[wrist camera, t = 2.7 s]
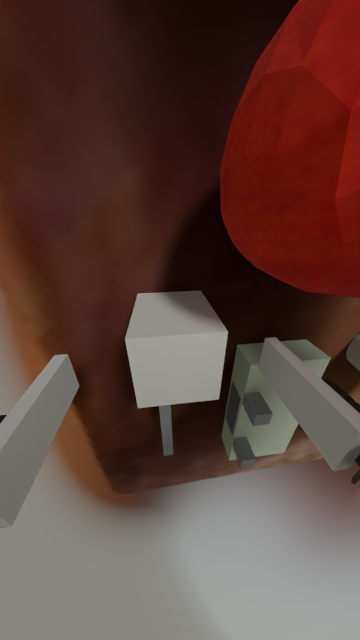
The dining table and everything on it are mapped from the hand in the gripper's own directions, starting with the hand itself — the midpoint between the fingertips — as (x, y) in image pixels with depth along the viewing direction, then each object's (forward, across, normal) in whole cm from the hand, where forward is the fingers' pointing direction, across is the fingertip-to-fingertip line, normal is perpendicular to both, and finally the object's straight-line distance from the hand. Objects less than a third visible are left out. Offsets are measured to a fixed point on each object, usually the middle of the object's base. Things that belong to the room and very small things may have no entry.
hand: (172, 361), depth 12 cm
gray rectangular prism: (+5, 0, 0) cm, 5 cm away
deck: (+5, +7, -12) cm, 15 cm away
